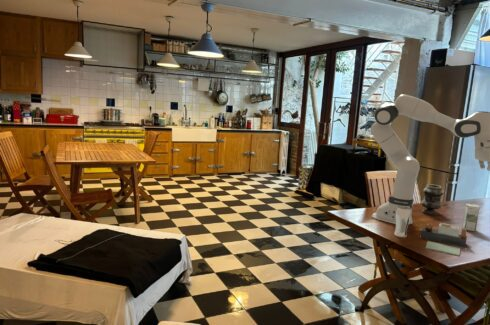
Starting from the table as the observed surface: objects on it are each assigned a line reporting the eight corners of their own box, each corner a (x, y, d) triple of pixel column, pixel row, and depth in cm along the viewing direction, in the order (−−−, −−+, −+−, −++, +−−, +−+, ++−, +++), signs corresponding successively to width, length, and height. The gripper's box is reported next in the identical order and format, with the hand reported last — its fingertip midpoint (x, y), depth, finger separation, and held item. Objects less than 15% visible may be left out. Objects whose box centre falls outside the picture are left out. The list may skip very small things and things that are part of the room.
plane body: (420, 237, 186) (422, 222, 184) (421, 233, 192) (423, 219, 190) (465, 247, 175) (467, 231, 174) (465, 243, 181) (468, 228, 180)
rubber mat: (425, 248, 171) (425, 247, 171) (427, 242, 180) (427, 241, 180) (459, 256, 164) (459, 254, 164) (460, 249, 172) (460, 248, 172)
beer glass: (395, 232, 192) (399, 204, 190) (409, 235, 188) (413, 207, 186) (391, 235, 187) (394, 207, 185) (405, 238, 183) (409, 210, 180)
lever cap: (437, 233, 182) (439, 224, 181) (438, 230, 186) (439, 221, 185) (458, 237, 177) (459, 228, 176) (458, 234, 181) (460, 225, 181)
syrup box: (473, 228, 205) (477, 204, 203) (475, 232, 200) (479, 206, 197) (462, 227, 207) (466, 202, 205) (464, 230, 202) (468, 205, 200)
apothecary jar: (439, 216, 226) (443, 188, 223) (418, 212, 232) (422, 185, 229) (441, 212, 236) (445, 185, 233) (420, 208, 242) (424, 182, 240)
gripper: (470, 142, 195) (471, 167, 196) (485, 144, 176) (486, 172, 177) (484, 141, 194) (485, 166, 195) (500, 143, 174) (501, 171, 175)
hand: (485, 169), depth 186 cm, fingers open, 8 cm apart
